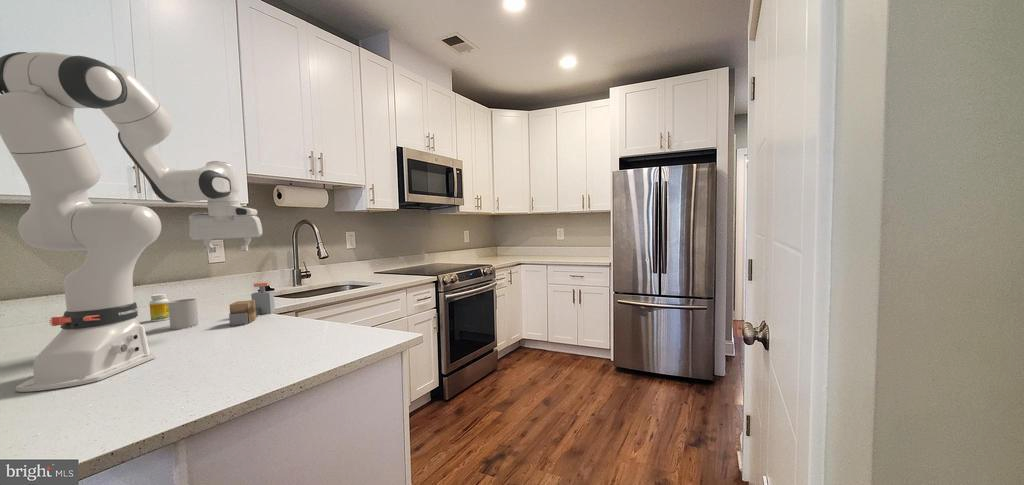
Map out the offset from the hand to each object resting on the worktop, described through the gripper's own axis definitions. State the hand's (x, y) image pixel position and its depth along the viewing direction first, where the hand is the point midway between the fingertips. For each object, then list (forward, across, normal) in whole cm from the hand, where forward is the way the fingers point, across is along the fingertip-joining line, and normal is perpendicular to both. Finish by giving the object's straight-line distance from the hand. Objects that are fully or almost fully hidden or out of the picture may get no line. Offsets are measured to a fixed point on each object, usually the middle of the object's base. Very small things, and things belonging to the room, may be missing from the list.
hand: (228, 251), depth 128 cm
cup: (+25, -16, +3) cm, 30 cm away
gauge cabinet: (+25, +4, +14) cm, 29 cm away
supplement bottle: (+26, -31, +19) cm, 45 cm away
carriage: (+25, +3, 0) cm, 25 cm away
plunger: (+19, +4, +14) cm, 24 cm away
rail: (+25, +3, +4) cm, 25 cm away
